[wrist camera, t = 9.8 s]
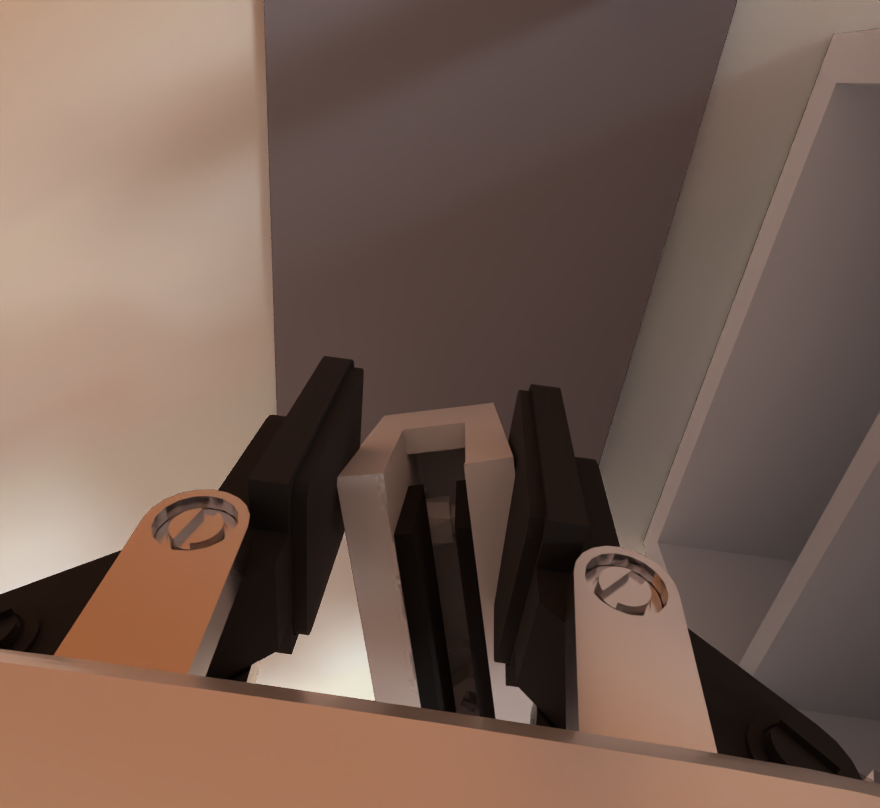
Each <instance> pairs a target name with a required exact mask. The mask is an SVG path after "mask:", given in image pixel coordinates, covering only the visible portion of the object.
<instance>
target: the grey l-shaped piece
mask: <svg viewBox="0 0 880 808" xmlns="http://www.w3.org/2000/svg"><path fill="white" fill-rule="evenodd" d="M736 3H737V0H264V19H265V51H266V82H267V114H268V145H269V177H270V208H271V240H272V272H273V303H274V335H275V366H276V398H277V415H279V416H287V414H288V413H289V411H290V409H291V408H292V406H293V405H294V403H295V401H296V400H297V398H298V397H299V395H300V393H301V392H302V390H303V388H304V387H305V385H306V384H307V382H308V380H309V379H310V377H311V376H312V374H313V372H314V371H315V369H316V368H317V366H318V364H319V363H320V361H321V359H322V358H323V357H324V356H330V357H337V358H345V359H352V360H353V361H354V367H356V368H363V370H364V381H363V401H362V420H361V440H360V445H361V444H362V443H363V442H364V440H365V439H366V438H367V437H368V435H369V434H370V433H371V432H372V430H373V429H374V428H375V427H376V425H377V424H378V423H379V422H380V420H381V419H382V418H383V417H384V416H385V415H393V414H402V413H410V412H419V411H427V410H436V409H444V408H453V407H461V406H470V405H478V404H486V403H494V406H495V409H496V411H497V414H498V417H499V419H500V422H501V425H502V428H503V430H504V433H505V436H506V438H507V441H508V439H509V434H510V429H511V424H512V419H513V413H514V408H515V403H516V398H517V394H518V391H519V390H525V391H528V390H529V387H530V385H531V384H536V385H543V386H551V387H558V388H560V389H561V393H562V398H563V403H564V408H565V412H566V417H567V422H568V427H569V431H570V436H571V441H572V446H573V450H574V455H575V456H576V457H583V458H590V459H594V460H596V461H597V464H598V466H599V462H600V459H601V456H602V452H603V449H604V446H605V442H606V439H607V436H608V432H609V429H610V426H611V422H612V419H613V416H614V412H615V409H616V406H617V402H618V399H619V395H620V392H621V389H622V385H623V382H624V379H625V375H626V372H627V369H628V365H629V362H630V359H631V355H632V352H633V349H634V345H635V342H636V338H637V335H638V332H639V328H640V325H641V322H642V318H643V315H644V312H645V308H646V305H647V302H648V298H649V295H650V292H651V288H652V285H653V281H654V278H655V275H656V271H657V268H658V265H659V261H660V258H661V255H662V251H663V248H664V245H665V241H666V238H667V235H668V231H669V228H670V224H671V221H672V218H673V214H674V211H675V208H676V204H677V201H678V198H679V194H680V191H681V188H682V184H683V181H684V178H685V174H686V171H687V167H688V164H689V161H690V157H691V154H692V151H693V147H694V144H695V141H696V137H697V134H698V131H699V127H700V124H701V121H702V117H703V114H704V111H705V107H706V104H707V100H708V97H709V94H710V90H711V87H712V84H713V80H714V77H715V74H716V70H717V67H718V64H719V60H720V57H721V54H722V50H723V47H724V43H725V40H726V37H727V33H728V30H729V27H730V23H731V20H732V17H733V13H734V10H735V7H736Z"/></svg>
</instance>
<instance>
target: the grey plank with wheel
mask: <svg viewBox="0 0 880 808" xmlns="http://www.w3.org/2000/svg"><path fill="white" fill-rule="evenodd" d="M514 480H515V468H514V459H513V455H512V452H511V449H510V446H509V444H508V441H507V438H506V436H505V433H504V430H503V428H502V425H501V422H500V419H499V417H498V414H497V411H496V409H495V406H494V403H486V404H478V405H470V406H461V407H453V408H444V409H436V410H427V411H419V412H410V413H402V414H393V415H385V416H384V417H383V418H382V419H381V420H380V422H379V423H378V424H377V425H376V427H375V428H374V429H373V430H372V432H371V433H370V434H369V435H368V437H367V438H366V439H365V440H364V442H363V443H362V444H361V445H360V449H359V450H358V451H357V453H356V454H355V455H354V456H353V458H352V459H351V460H350V462H349V463H348V464H347V465H346V467H345V468H344V469H343V470H342V472H341V473H340V474H339V476H338V477H337V489H338V494H339V500H340V505H341V511H342V517H343V522H344V528H345V533H346V539H347V545H348V550H349V556H350V561H351V567H352V573H353V578H354V584H355V589H356V595H357V601H358V606H359V612H360V617H361V623H362V628H363V634H364V640H365V645H366V651H367V656H368V662H369V668H370V673H371V679H372V684H373V690H374V696H375V701H378V702H384V703H391V704H398V705H405V706H411V707H418V708H425V709H432V710H439V711H445V712H452V713H459V714H466V715H472V716H479V717H486V718H493V719H499V720H506V721H512V722H519V723H525V724H530V714H531V709H532V704H533V702H532V701H531V700H530V699H529V698H528V697H527V696H526V695H525V694H524V693H523V692H522V691H521V690H520V689H519V687H512V686H506V679H505V664H504V663H497V662H494V602H495V596H496V590H497V584H498V577H499V571H500V565H501V559H502V553H503V547H504V541H505V535H506V529H507V522H508V516H509V510H510V504H511V498H512V492H513V486H514Z"/></svg>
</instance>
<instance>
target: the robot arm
mask: <svg viewBox="0 0 880 808" xmlns="http://www.w3.org/2000/svg"><path fill="white" fill-rule="evenodd" d="M363 381H364V370H363V368H356V367H354V361H353V360H352V359H345V358H337V357H330V356H324V357H323V358H322V359H321V361H320V363H319V364H318V366H317V368H316V369H315V371H314V372H313V374H312V376H311V377H310V379H309V380H308V382H307V384H306V385H305V387H304V388H303V390H302V392H301V393H300V395H299V397H298V398H297V400H296V401H295V403H294V405H293V406H292V408H291V409H290V411H289V413H288V414H287V416H279V415H270V416H269V417H268V418H267V419H266V420H265V422H264V423H263V425H262V426H261V428H260V429H259V431H258V432H257V433H256V435H255V436H254V438H253V439H252V441H251V442H250V444H249V445H248V447H247V448H246V450H245V451H244V453H243V454H242V456H241V457H240V459H239V460H238V462H237V463H236V465H235V466H234V468H233V469H232V471H231V472H230V474H229V475H228V476H227V478H226V479H225V481H224V482H223V484H222V485H221V487H220V488H219V490H218V491H217V490H194V491H189V492H184V493H180V494H177V495H175V496H172V497H169V498H167V499H165V500H163V501H162V502H160V503H159V504H157V505H155V506H154V507H152V508H151V510H150V511H149V512H148V513H147V514H146V515H145V516H144V517H143V519H142V520H141V522H140V523H139V525H138V526H137V528H136V529H135V531H134V532H133V534H132V535H131V537H130V539H129V540H128V542H127V543H126V545H125V546H124V548H123V549H122V550H121V551H118V552H115V553H113V554H110V555H107V556H104V557H102V558H99V559H96V560H93V561H91V562H88V563H85V564H82V565H80V566H77V567H74V568H72V569H69V570H66V571H63V572H61V573H58V574H55V575H52V576H50V577H47V578H44V579H41V580H39V581H36V582H33V583H30V584H28V585H25V586H22V587H19V588H17V589H14V590H11V591H9V592H6V593H3V594H0V808H880V772H878V771H876V770H874V769H873V770H872V771H871V773H870V774H869V775H868V776H867V777H866V776H864V775H863V774H861V773H859V772H858V770H857V769H856V767H855V765H854V763H853V761H852V760H851V758H850V757H849V756H848V755H847V754H846V752H845V751H844V750H843V749H842V747H841V746H840V745H839V744H838V742H837V741H836V740H834V739H833V738H832V737H831V736H830V735H829V734H828V733H826V732H825V731H824V730H823V729H822V728H821V727H820V726H818V725H817V724H816V723H814V722H813V721H812V720H810V719H809V718H808V717H806V716H805V715H804V714H802V713H801V712H800V711H798V710H797V709H796V708H794V707H793V706H792V705H790V704H789V703H788V702H786V701H785V700H784V699H782V698H781V697H780V696H778V695H777V694H776V693H774V692H773V691H772V690H770V689H769V688H768V687H766V686H765V685H764V684H762V683H761V682H760V681H758V680H757V679H756V678H754V677H753V676H752V675H750V674H749V673H748V672H746V671H745V670H744V669H742V668H741V667H740V666H738V665H737V664H735V663H734V662H733V661H731V660H730V659H729V658H727V657H726V656H725V655H723V654H722V653H721V652H719V651H718V650H717V649H715V648H714V647H713V646H711V645H710V644H709V643H707V642H706V641H705V640H703V639H702V638H701V637H699V636H698V635H697V634H695V633H694V632H693V631H691V630H690V629H689V628H687V624H686V620H685V616H684V612H683V607H682V603H681V599H680V595H679V592H678V590H677V588H676V585H675V583H674V581H673V580H672V579H671V577H670V576H669V575H668V574H667V572H666V571H665V570H664V569H663V568H661V567H660V566H659V565H658V564H656V563H655V562H654V561H653V560H651V559H649V558H647V557H645V556H644V555H642V554H640V553H638V552H635V551H632V550H629V549H625V548H622V547H620V545H619V542H618V538H617V534H616V530H615V527H614V523H613V519H612V515H611V512H610V508H609V504H608V500H607V497H606V493H605V489H604V485H603V482H602V478H601V474H600V470H599V467H598V464H597V461H596V460H594V459H590V458H583V457H576V456H575V455H574V450H573V446H572V441H571V436H570V431H569V427H568V422H567V417H566V412H565V408H564V403H563V398H562V393H561V389H560V388H558V387H551V386H543V385H536V384H531V385H530V387H529V390H528V391H525V390H519V391H518V394H517V398H516V403H515V408H514V413H513V419H512V424H511V429H510V434H509V439H508V444H509V446H510V449H511V452H512V455H513V459H514V468H515V480H514V486H513V492H512V498H511V504H510V510H509V516H508V522H507V529H506V535H505V541H504V547H503V553H502V559H501V565H500V571H499V577H498V584H497V590H496V596H495V602H494V662H497V663H504V664H505V679H506V686H512V687H519V689H520V690H521V691H522V692H523V693H524V694H525V695H526V696H527V697H528V698H529V699H530V700H531V701H532V702H533V704H532V709H531V714H530V724H525V723H519V722H512V721H506V720H499V719H493V718H486V717H479V716H472V715H466V714H459V713H452V712H445V711H439V710H432V709H425V708H418V707H411V706H405V705H398V704H391V703H384V702H378V701H371V700H364V699H357V698H350V697H343V696H336V695H330V694H323V693H316V692H309V691H302V690H295V689H288V688H282V687H275V686H268V685H261V684H255V682H256V678H257V675H258V669H259V661H260V660H261V659H263V658H265V657H267V656H269V655H271V654H273V653H274V652H279V653H285V654H292V652H293V649H294V646H295V643H296V640H297V637H298V635H299V634H304V635H309V634H310V632H311V630H312V627H313V624H314V621H315V618H316V615H317V612H318V609H319V606H320V603H321V600H322V597H323V594H324V591H325V588H326V585H327V582H328V579H329V576H330V573H331V570H332V567H333V564H334V561H335V558H336V555H337V552H338V549H339V546H340V543H341V540H342V537H343V534H344V531H345V528H344V522H343V517H342V511H341V505H340V500H339V494H338V489H337V477H338V476H339V474H340V473H341V472H342V470H343V469H344V468H345V467H346V465H347V464H348V463H349V462H350V460H351V459H352V458H353V456H354V455H355V454H356V453H357V451H358V450H359V449H360V440H361V420H362V401H363Z"/></svg>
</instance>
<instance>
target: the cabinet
mask: <svg viewBox="0 0 880 808" xmlns="http://www.w3.org/2000/svg"><path fill="white" fill-rule="evenodd" d="M643 546H644V549H645V552H646V555H647V558H649V559H651V560H653V561H654V562H655V563H656V564H658V565H659V566H660V567H661V568H663V569H664V570H665V571H666V572H667V574H668V575H669V576H670V577H671V579H672V580H673V581H674V583H675V585H676V588H677V590H678V592H679V595H680V599H681V603H682V607H683V612H684V616H685V620H686V624H687V628H689V629H690V630H691V631H693V632H694V633H695V634H697V635H698V636H699V637H701V638H702V639H703V640H705V641H706V642H707V643H709V644H710V645H711V646H713V647H714V648H715V649H717V650H718V651H719V652H721V653H722V654H723V655H725V656H726V657H727V658H729V659H730V660H731V661H733V662H734V663H735V664H737V665H738V666H740V667H741V668H742V669H744V670H745V671H746V672H748V673H749V674H750V675H752V676H753V677H754V678H756V679H757V680H758V681H760V682H761V683H762V684H764V685H765V686H766V687H768V688H769V689H770V690H772V691H773V692H774V693H776V694H777V695H778V696H780V697H781V698H782V699H784V700H785V701H786V702H788V703H789V704H790V705H792V706H793V707H794V708H796V709H797V710H798V711H800V712H801V713H802V714H804V715H805V716H806V717H808V718H809V719H810V720H812V721H813V722H814V723H816V724H817V725H818V726H820V727H821V728H822V729H823V730H824V731H825V732H826V733H828V734H829V735H830V736H831V737H832V738H833V739H834V740H836V741H837V742H838V744H839V745H840V746H841V747H842V749H843V750H844V751H845V752H846V754H847V755H848V756H849V757H850V758H851V760H852V761H853V763H854V765H855V767H856V769H857V770H858V772H859V773H861V774H863V775H864V776H866V777H867V776H868V775H869V774H870V773H871V771H872V770H873V769H874V770H876V771H878V772H880V28H878V29H871V30H863V31H856V32H848V33H841V34H833V37H832V40H831V42H830V45H829V48H828V50H827V53H826V56H825V58H824V61H823V64H822V66H821V69H820V72H819V74H818V77H817V80H816V82H815V85H814V88H813V90H812V93H811V96H810V98H809V101H808V104H807V106H806V109H805V112H804V114H803V117H802V120H801V122H800V125H799V128H798V130H797V133H796V136H795V138H794V141H793V144H792V147H791V149H790V152H789V155H788V157H787V160H786V163H785V165H784V168H783V171H782V173H781V176H780V179H779V181H778V184H777V187H776V189H775V192H774V195H773V197H772V200H771V203H770V205H769V208H768V211H767V213H766V216H765V219H764V221H763V224H762V227H761V229H760V232H759V235H758V237H757V240H756V243H755V245H754V248H753V251H752V253H751V256H750V259H749V261H748V264H747V267H746V269H745V272H744V275H743V277H742V280H741V283H740V285H739V288H738V291H737V294H736V296H735V299H734V302H733V304H732V307H731V310H730V312H729V315H728V318H727V320H726V323H725V326H724V328H723V331H722V334H721V336H720V339H719V342H718V344H717V347H716V350H715V352H714V355H713V358H712V360H711V363H710V366H709V368H708V371H707V374H706V376H705V379H704V382H703V384H702V387H701V390H700V392H699V395H698V398H697V400H696V403H695V406H694V408H693V411H692V414H691V416H690V419H689V422H688V424H687V427H686V430H685V432H684V435H683V438H682V441H681V443H680V446H679V449H678V451H677V454H676V457H675V459H674V462H673V465H672V467H671V470H670V473H669V475H668V478H667V481H666V483H665V486H664V489H663V491H662V494H661V497H660V499H659V502H658V505H657V507H656V510H655V513H654V515H653V518H652V521H651V523H650V526H649V529H648V531H647V534H646V537H645V539H644V542H643Z"/></svg>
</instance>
